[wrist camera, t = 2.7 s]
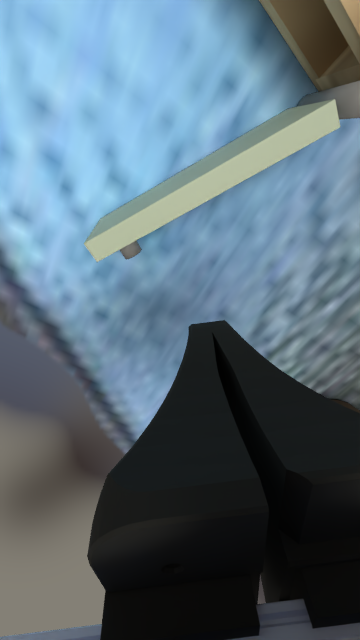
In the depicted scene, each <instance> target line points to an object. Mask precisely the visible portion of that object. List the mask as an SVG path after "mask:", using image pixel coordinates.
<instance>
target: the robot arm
mask: <svg viewBox="0 0 360 640" xmlns="http://www.w3.org/2000/svg"><path fill="white" fill-rule="evenodd" d="M87 557H88V560H89V564H90V566H91V567H92V569H93V571H94V572H95V574H96V575H97V577H98V579H99V580H100V582H101V584H102V585H103V586H104V588H105V590H106V593H105V601H104V610H103V619H102V624H99V625H90V626H83V627H74V628H67V629H59V630H51V631H43V632H35V633H27V634H19V635H12V636H4V637H0V640H360V413H358V412H356V411H353V410H351V409H349V408H347V407H344V406H342V405H340V404H338V403H336V402H334V401H332V400H330V399H328V398H326V397H324V396H323V395H321V394H319V393H317V392H315V391H313V390H311V389H310V388H308V387H306V386H304V385H303V384H301V383H299V382H298V381H296V380H295V379H293V378H292V377H290V376H289V375H287V374H286V373H284V372H282V371H281V370H280V369H278V368H277V367H276V366H274V365H273V364H272V363H270V362H269V361H268V360H267V359H265V358H264V357H263V356H262V355H261V354H259V353H258V352H257V351H256V350H255V349H254V348H253V347H252V346H250V345H249V344H248V343H247V342H246V341H245V340H244V339H243V338H242V337H241V336H240V335H239V334H238V333H237V332H236V331H235V330H234V329H233V328H232V327H231V326H230V325H229V324H228V323H227V322H226V321H225V320H223V321H215V322H207V323H199V324H191V325H190V326H189V336H188V342H187V346H186V350H185V353H184V357H183V360H182V363H181V365H180V368H179V371H178V373H177V376H176V378H175V380H174V382H173V385H172V387H171V389H170V391H169V392H168V394H167V396H166V398H165V400H164V402H163V403H162V405H161V407H160V408H159V410H158V412H157V413H156V415H155V416H154V418H153V419H152V421H151V422H150V424H149V425H148V426H147V428H146V429H145V430H144V432H143V433H142V435H141V436H140V437H139V439H138V440H137V441H136V443H135V444H134V445H133V446H132V448H131V449H130V450H129V451H128V452H127V453H126V454H125V456H124V457H123V458H122V459H121V460H120V461H119V462H118V464H117V465H116V466H115V467H114V468H113V469H112V470H111V472H110V473H109V474H108V475H107V478H106V480H105V483H104V486H103V489H102V491H101V494H100V498H99V501H98V504H97V508H96V511H95V515H94V519H93V524H92V530H91V536H90V543H89V549H88V555H87ZM260 575H261V580H262V585H263V589H264V595H265V601H266V603H264V604H257V601H258V591H259V580H260Z"/></svg>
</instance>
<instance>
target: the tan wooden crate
mask: <svg viewBox="0 0 360 640" xmlns="http://www.w3.org/2000/svg"><path fill="white" fill-rule="evenodd" d="M259 1H260V3H261V4H262V6H263V7H264V9H265V10H266V12H267V13H268V15H269V16H270V18H271V20H272V21H273V23H274V24H275V26H276V27H277V29H278V30H279V32H280V33H281V35H282V36H283V38H284V39H285V41H286V42H287V44H288V46H289V47H290V49H291V50H292V52H293V53H294V55H295V56H296V58H297V59H298V61H299V62H300V64H301V65H302V67H303V68H304V70H305V72H306V73H307V75H308V76H309V78H310V79H311V81H312V82H313V84H314V85H315V87H316V88H317V90H318V91H323V90H326V89H330V88H334V87H337V86H341V85H345V84H349V83H352V82H356V81H360V0H259Z"/></svg>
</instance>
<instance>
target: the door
mask: <svg viewBox="0 0 360 640" xmlns="http://www.w3.org/2000/svg"><path fill="white" fill-rule="evenodd" d="M350 118H360V81H356V82H352V83H349V84H345V85H341V86H337V87H334V88H330V89H326V90H323V91H319V92H315V93H311V94H308V95H306V96H304V97H303V98H302V99H301V100H300V102H299V104H298V107H293V108H288V109H286V110H285V111H283V112H281V113H280V114H278V115H276V116H274V117H273V118H271V119H269V120H268V121H266V122H264V123H263V124H261V125H259V126H257V127H256V128H254V129H252V130H251V131H249V132H247V133H246V134H244V135H242V136H240V137H239V138H237V139H235V140H234V141H232V142H230V143H228V144H227V145H225V146H223V147H222V148H220V149H218V150H217V151H215V152H213V153H211V154H210V155H208V156H206V157H205V158H203V159H201V160H200V161H198V162H196V163H194V164H193V165H191V166H189V167H188V168H186V169H184V170H182V171H181V172H179V173H177V174H176V175H174V176H172V177H171V178H169V179H167V180H165V181H164V182H162V183H160V184H159V185H157V186H155V187H154V188H152V189H150V190H148V191H147V192H145V193H143V194H142V195H140V196H138V197H136V198H135V199H133V200H131V201H130V202H128V203H126V204H125V205H123V206H121V207H119V208H118V209H116V210H114V211H113V212H111V213H109V214H108V215H106V216H104V217H102V218H101V219H100V220H99V222H98V223H97V225H96V226H95V228H94V229H93V231H92V232H91V234H90V235H89V237H88V238H87V240H86V241H85V243H84V244H85V246H86V247H87V249H88V250H89V251H90V253H91V254H92V256H93V257H94V258H95V260H96V261H97V262H98V261H100V260H102V259H104V258H105V257H107V256H109V255H111V254H113V253H114V252H116V251H118V250H120V251H121V253H122V254H123V256H124V257H125V259H130V258H132V257H134V256H135V255H137V254H138V253H139V252H140V251H141V250H142V249H141V247H140V246H139V244H138V243H137V241H136V240H138V239H140V238H141V237H143V236H145V235H147V234H149V233H150V232H152V231H154V230H156V229H158V228H159V227H161V226H163V225H165V224H167V223H168V222H170V221H172V220H174V219H176V218H177V217H179V216H181V215H183V214H185V213H186V212H188V211H190V210H192V209H194V208H195V207H197V206H199V205H201V204H203V203H204V202H206V201H208V200H210V199H212V198H213V197H215V196H217V195H219V194H221V193H222V192H224V191H226V190H228V189H230V188H231V187H233V186H235V185H237V184H239V183H240V182H242V181H244V180H246V179H248V178H249V177H251V176H253V175H255V174H257V173H259V172H260V171H262V170H264V169H266V168H268V167H269V166H271V165H273V164H275V163H277V162H278V161H280V160H282V159H284V158H286V157H287V156H289V155H291V154H293V153H295V152H296V151H298V150H300V149H302V148H304V147H305V146H307V145H309V144H311V143H313V142H314V141H316V140H318V139H320V138H322V137H323V136H325V135H327V134H329V133H331V132H332V131H334V130H336V129H338V128H340V122H339V119H350Z"/></svg>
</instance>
